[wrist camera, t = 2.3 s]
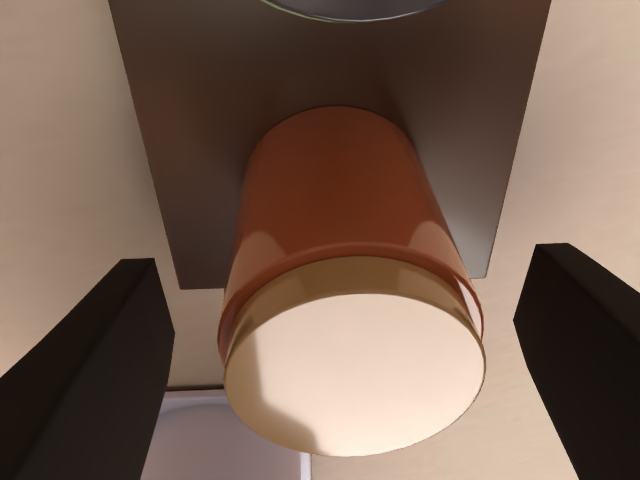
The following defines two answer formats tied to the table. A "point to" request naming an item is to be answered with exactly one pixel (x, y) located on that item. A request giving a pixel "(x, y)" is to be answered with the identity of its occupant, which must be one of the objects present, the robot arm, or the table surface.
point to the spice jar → (346, 293)
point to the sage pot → (354, 9)
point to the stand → (324, 104)
